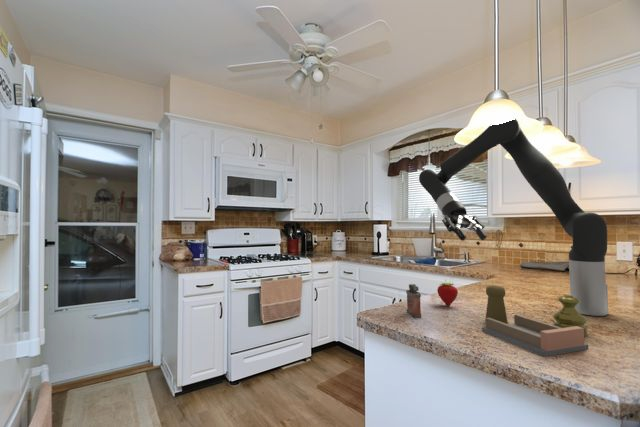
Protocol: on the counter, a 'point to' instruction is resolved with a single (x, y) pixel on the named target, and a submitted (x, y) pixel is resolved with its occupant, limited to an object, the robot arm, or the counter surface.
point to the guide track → (538, 335)
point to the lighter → (413, 301)
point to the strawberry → (447, 293)
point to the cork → (496, 304)
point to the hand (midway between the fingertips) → (474, 238)
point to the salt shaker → (569, 314)
